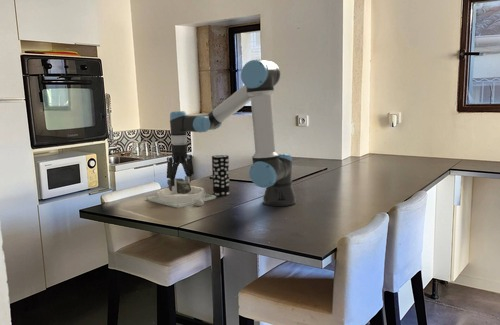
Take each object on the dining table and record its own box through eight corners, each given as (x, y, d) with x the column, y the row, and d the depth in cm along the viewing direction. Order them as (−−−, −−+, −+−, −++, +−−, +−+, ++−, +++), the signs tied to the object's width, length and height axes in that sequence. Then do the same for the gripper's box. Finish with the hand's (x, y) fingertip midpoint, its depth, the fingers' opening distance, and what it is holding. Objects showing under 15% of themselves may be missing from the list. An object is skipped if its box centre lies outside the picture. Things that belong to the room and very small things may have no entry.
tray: (216, 199, 223) (216, 195, 223) (177, 209, 206) (177, 205, 206) (184, 192, 239) (184, 189, 239) (147, 201, 222) (146, 197, 222)
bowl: (214, 198, 223) (213, 190, 222) (177, 207, 207) (177, 198, 206) (184, 192, 238) (184, 184, 237) (149, 200, 222) (148, 191, 221)
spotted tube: (214, 198, 226) (213, 157, 223) (211, 194, 234) (210, 155, 231) (231, 196, 228) (230, 156, 225) (227, 193, 236) (226, 154, 233)
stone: (194, 199, 224) (197, 183, 219) (183, 204, 219) (185, 188, 214) (175, 184, 231) (178, 168, 225) (164, 189, 226) (166, 173, 220)
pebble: (199, 201, 212) (204, 198, 210) (200, 208, 211) (205, 205, 209) (193, 199, 210) (199, 197, 208) (194, 207, 208) (200, 204, 206)
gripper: (190, 141, 228) (192, 186, 232) (156, 145, 214) (159, 193, 217) (200, 142, 223) (202, 188, 227) (166, 146, 208) (169, 195, 212)
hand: (181, 190), depth 222 cm, fingers closed on stone, 7 cm apart
